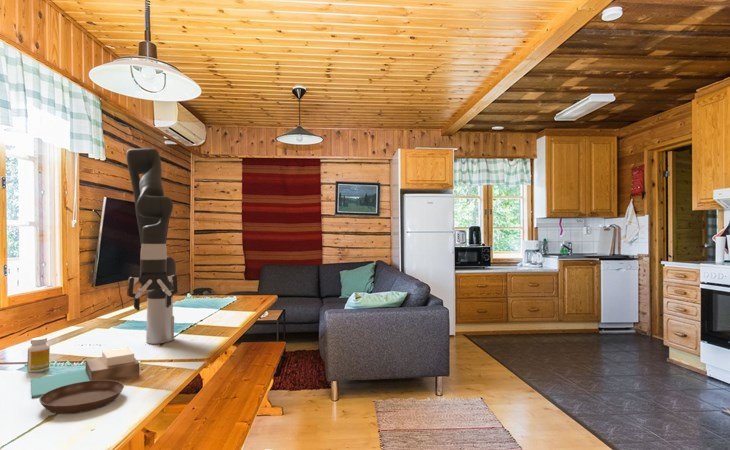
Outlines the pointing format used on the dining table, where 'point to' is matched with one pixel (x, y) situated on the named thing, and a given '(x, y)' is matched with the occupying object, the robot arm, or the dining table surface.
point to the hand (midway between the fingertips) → (152, 308)
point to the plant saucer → (81, 396)
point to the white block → (117, 356)
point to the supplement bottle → (38, 355)
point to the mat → (56, 382)
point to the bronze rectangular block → (111, 370)
